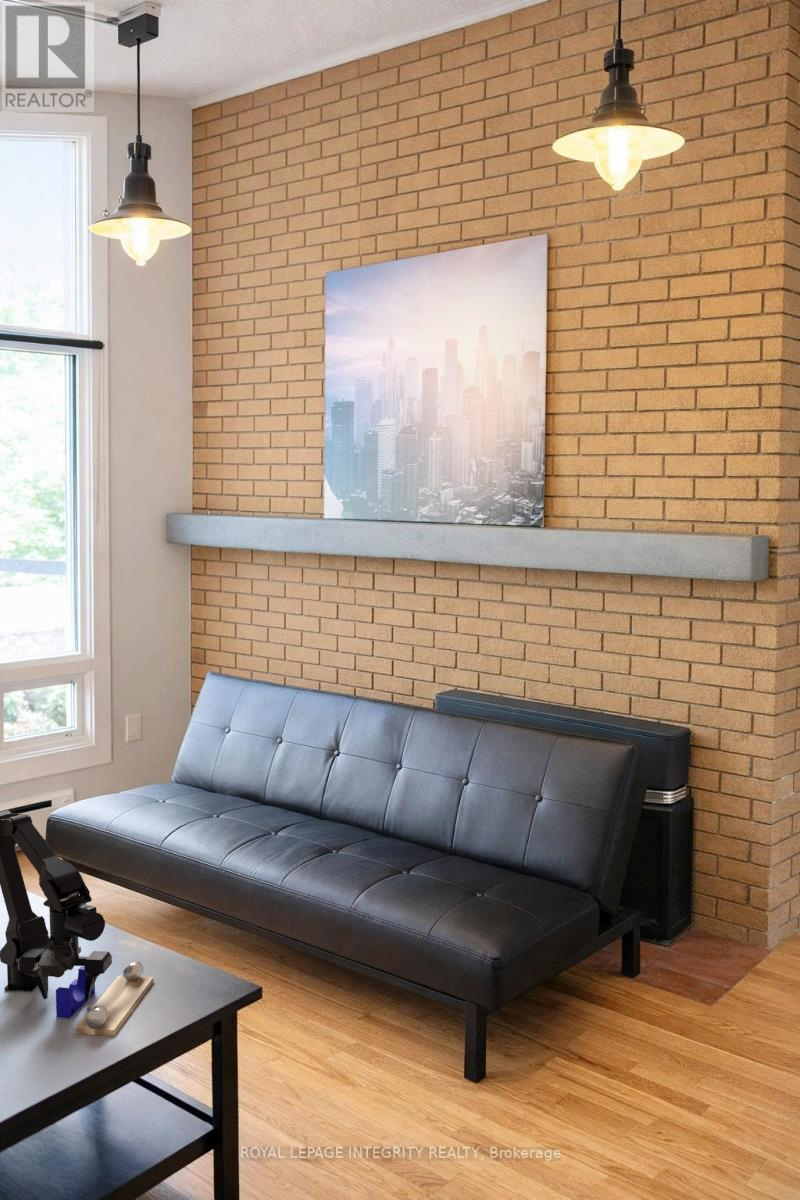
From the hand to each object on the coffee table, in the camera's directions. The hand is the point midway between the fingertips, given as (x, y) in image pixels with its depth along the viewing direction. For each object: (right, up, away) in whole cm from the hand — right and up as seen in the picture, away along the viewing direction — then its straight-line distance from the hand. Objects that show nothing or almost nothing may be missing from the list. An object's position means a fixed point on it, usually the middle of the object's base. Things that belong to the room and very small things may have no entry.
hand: (66, 999), depth 240 cm
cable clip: (+1, -1, 0) cm, 2 cm away
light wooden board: (+11, -1, -1) cm, 11 cm away
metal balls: (+11, 0, -1) cm, 11 cm away
